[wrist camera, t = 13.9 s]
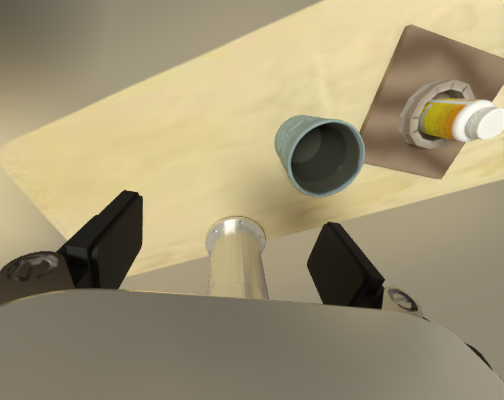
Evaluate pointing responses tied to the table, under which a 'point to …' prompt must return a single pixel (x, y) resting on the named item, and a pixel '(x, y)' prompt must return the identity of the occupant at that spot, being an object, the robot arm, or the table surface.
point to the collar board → (407, 80)
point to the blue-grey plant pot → (320, 154)
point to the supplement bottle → (461, 119)
